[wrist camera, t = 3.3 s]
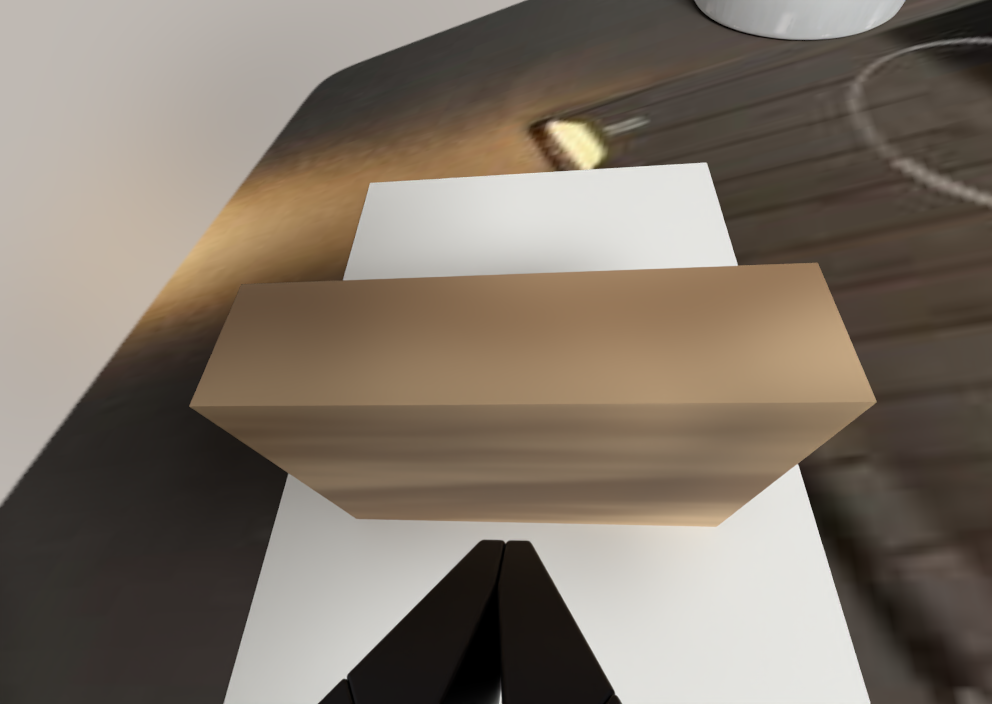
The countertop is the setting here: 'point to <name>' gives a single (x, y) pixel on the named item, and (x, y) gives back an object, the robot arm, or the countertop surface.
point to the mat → (561, 547)
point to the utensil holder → (801, 16)
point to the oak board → (539, 390)
